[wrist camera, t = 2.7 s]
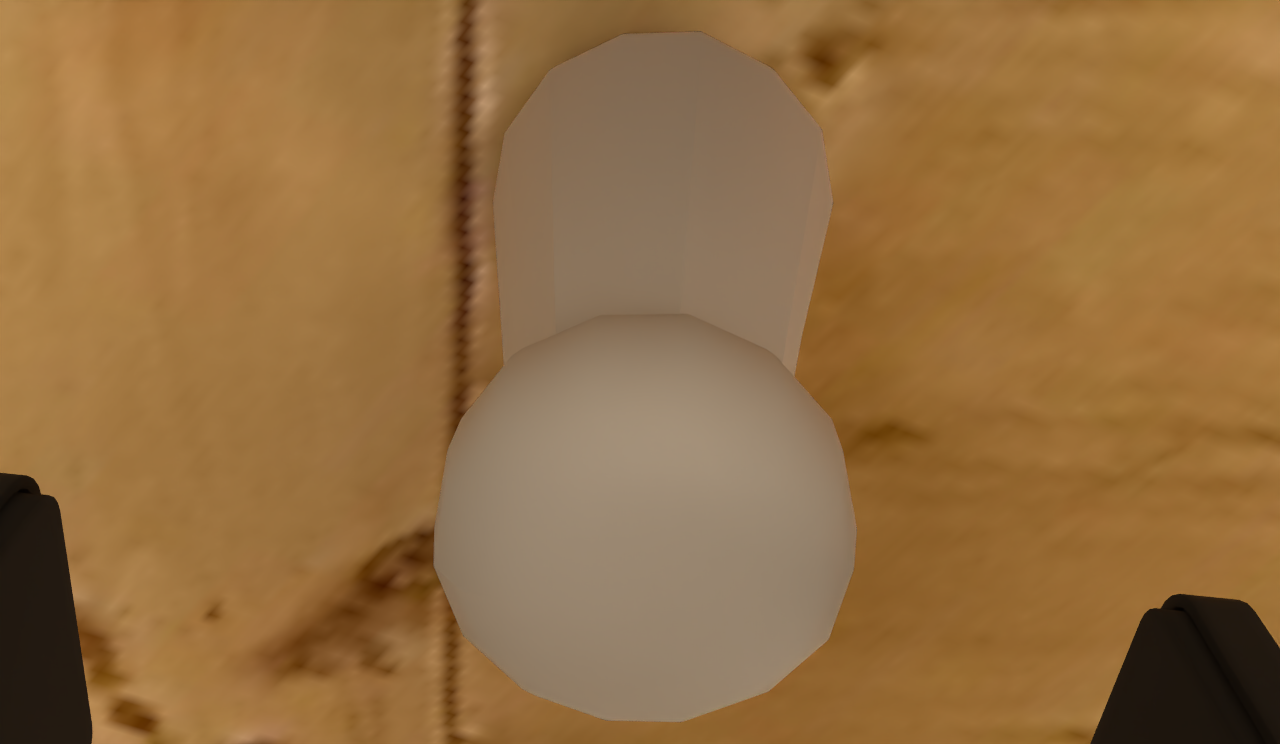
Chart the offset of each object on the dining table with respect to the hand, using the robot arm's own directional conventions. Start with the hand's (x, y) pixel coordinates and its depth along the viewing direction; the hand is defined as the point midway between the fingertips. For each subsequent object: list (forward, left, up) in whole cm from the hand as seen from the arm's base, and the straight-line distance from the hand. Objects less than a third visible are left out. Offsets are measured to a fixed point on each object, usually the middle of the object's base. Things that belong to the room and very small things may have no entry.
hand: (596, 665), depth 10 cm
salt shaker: (0, 0, -14) cm, 14 cm away
